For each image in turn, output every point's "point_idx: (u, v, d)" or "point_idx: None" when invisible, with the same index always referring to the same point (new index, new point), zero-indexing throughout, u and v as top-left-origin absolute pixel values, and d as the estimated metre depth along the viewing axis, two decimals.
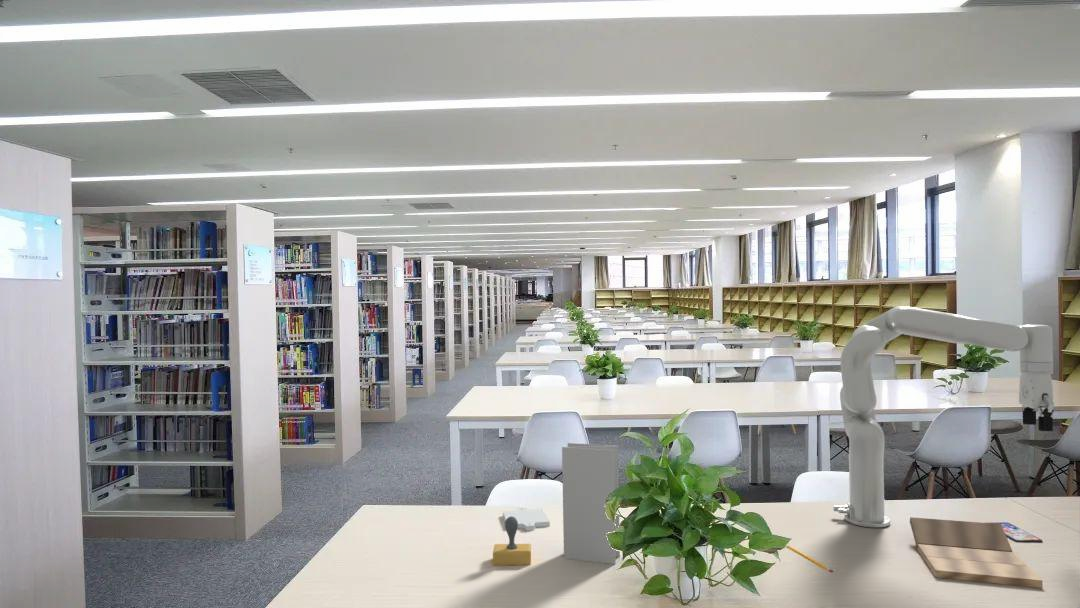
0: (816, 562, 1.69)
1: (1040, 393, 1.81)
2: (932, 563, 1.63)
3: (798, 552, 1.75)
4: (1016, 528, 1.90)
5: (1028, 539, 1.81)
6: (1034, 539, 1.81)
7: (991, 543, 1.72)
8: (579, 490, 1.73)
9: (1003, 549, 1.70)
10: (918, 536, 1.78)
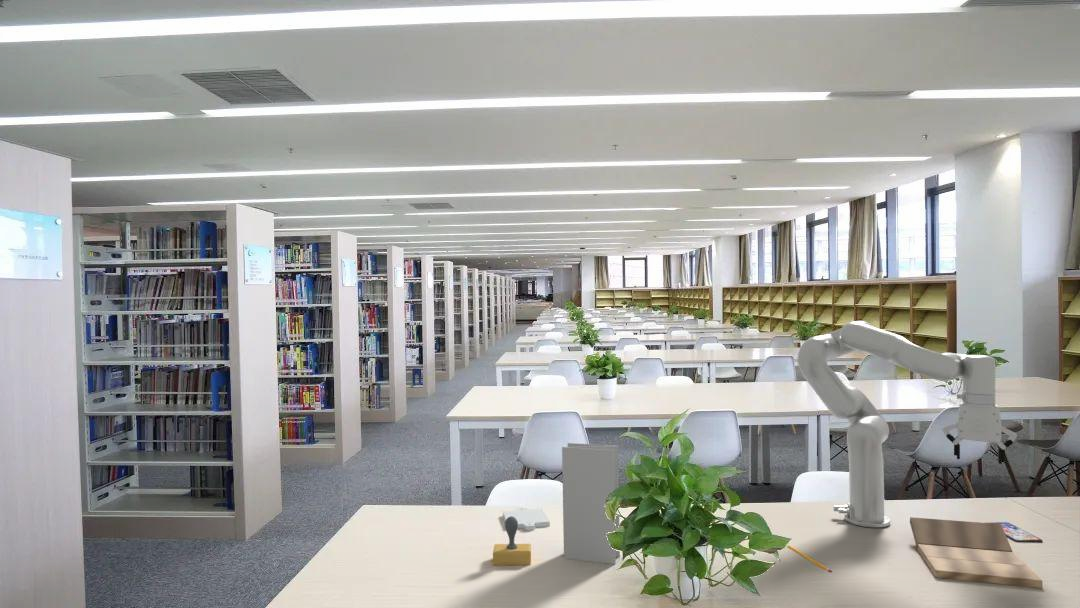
0: (816, 562, 1.68)
1: None
2: (932, 563, 1.63)
3: (798, 552, 1.76)
4: (1016, 528, 1.90)
5: (1028, 539, 1.81)
6: (1034, 539, 1.81)
7: (991, 543, 1.72)
8: (579, 490, 1.73)
9: (1003, 549, 1.70)
10: (918, 536, 1.78)
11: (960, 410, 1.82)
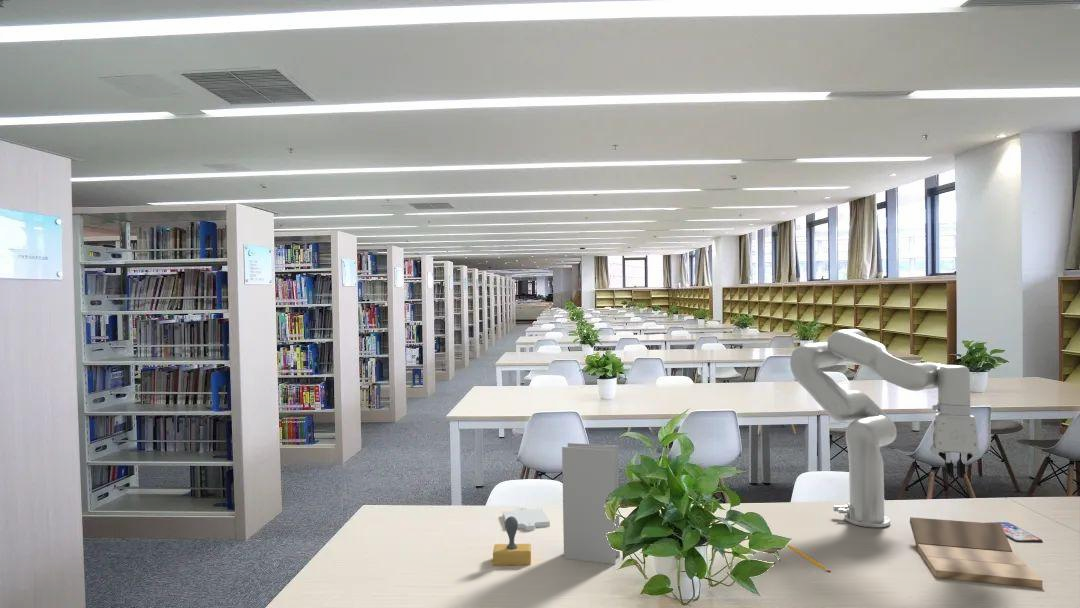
0: (815, 562, 1.68)
1: None
2: (932, 563, 1.63)
3: (799, 552, 1.76)
4: (1016, 528, 1.90)
5: (1028, 539, 1.81)
6: (1034, 539, 1.81)
7: (991, 543, 1.72)
8: (579, 490, 1.73)
9: (1003, 549, 1.70)
10: (918, 536, 1.78)
11: (938, 422, 1.79)
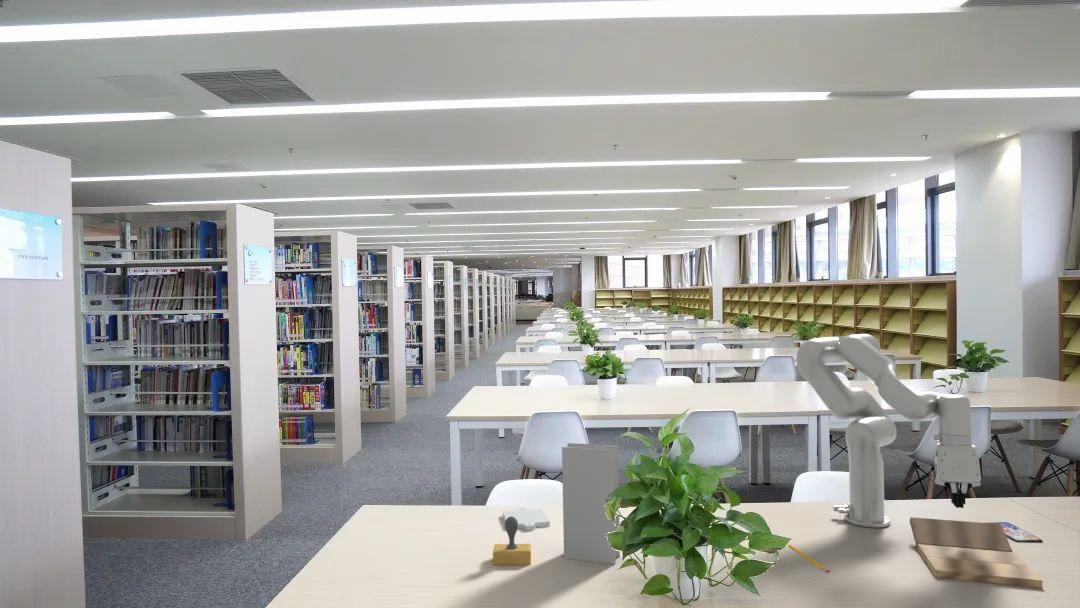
0: (815, 562, 1.68)
1: None
2: (932, 563, 1.63)
3: (799, 552, 1.76)
4: (1016, 528, 1.90)
5: (1028, 539, 1.81)
6: (1034, 539, 1.81)
7: (991, 543, 1.72)
8: (579, 490, 1.73)
9: (1003, 549, 1.70)
10: (918, 536, 1.78)
11: (940, 452, 1.78)
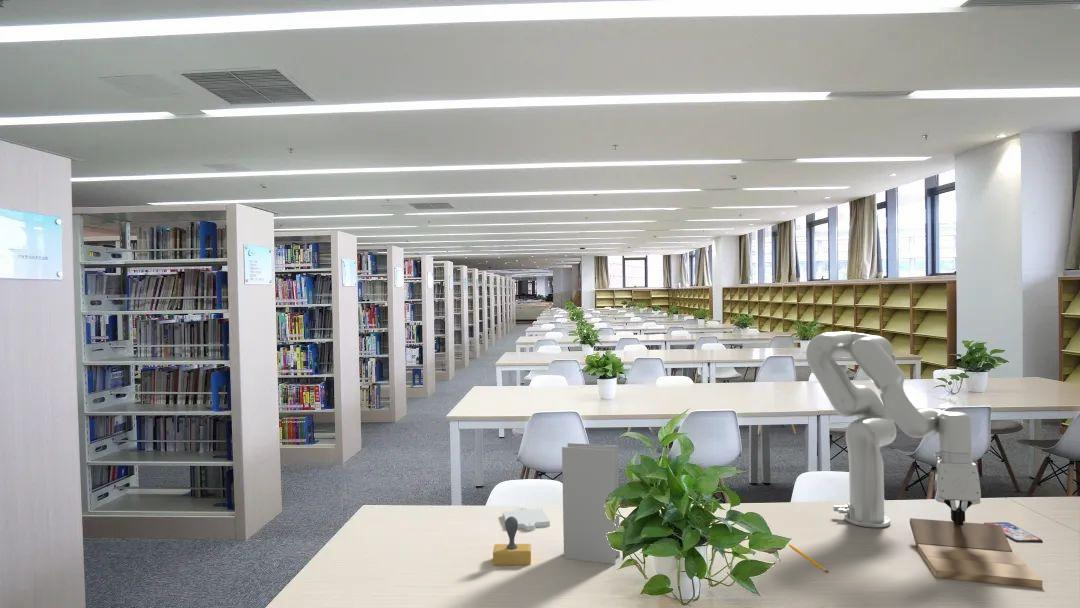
0: (814, 562, 1.68)
1: None
2: (932, 563, 1.63)
3: (799, 552, 1.76)
4: (1016, 528, 1.90)
5: (1028, 539, 1.81)
6: (1034, 539, 1.81)
7: (991, 543, 1.72)
8: (579, 490, 1.73)
9: (1003, 549, 1.70)
10: (918, 536, 1.78)
11: (940, 469, 1.78)
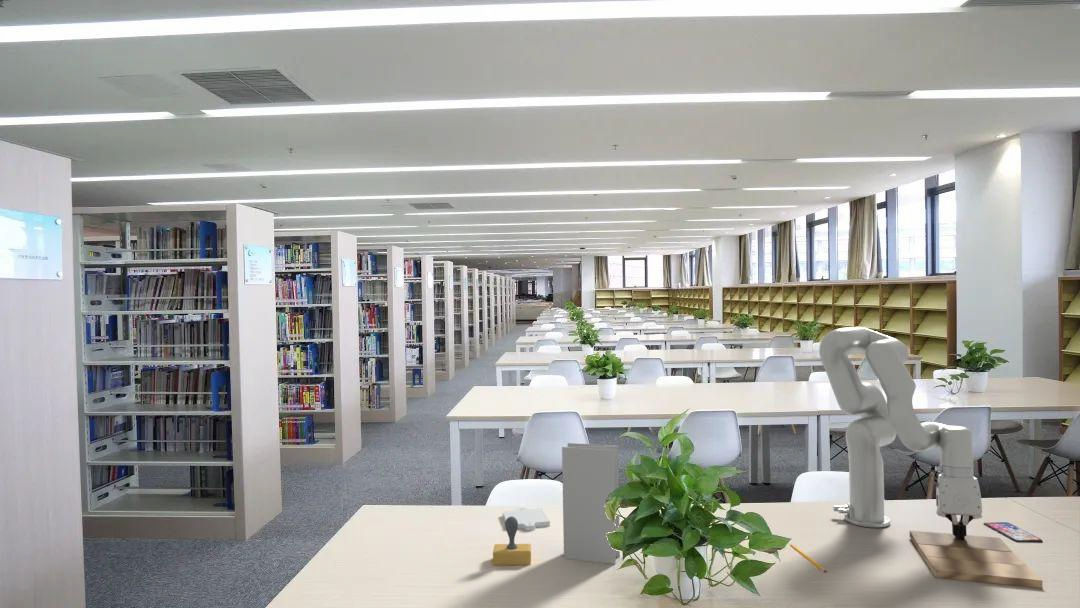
0: (814, 562, 1.68)
1: None
2: (932, 563, 1.63)
3: (800, 552, 1.76)
4: (1016, 528, 1.90)
5: (1028, 539, 1.81)
6: (1034, 539, 1.81)
7: (991, 546, 1.73)
8: (579, 490, 1.73)
9: (1003, 550, 1.70)
10: (918, 540, 1.78)
11: (941, 484, 1.78)
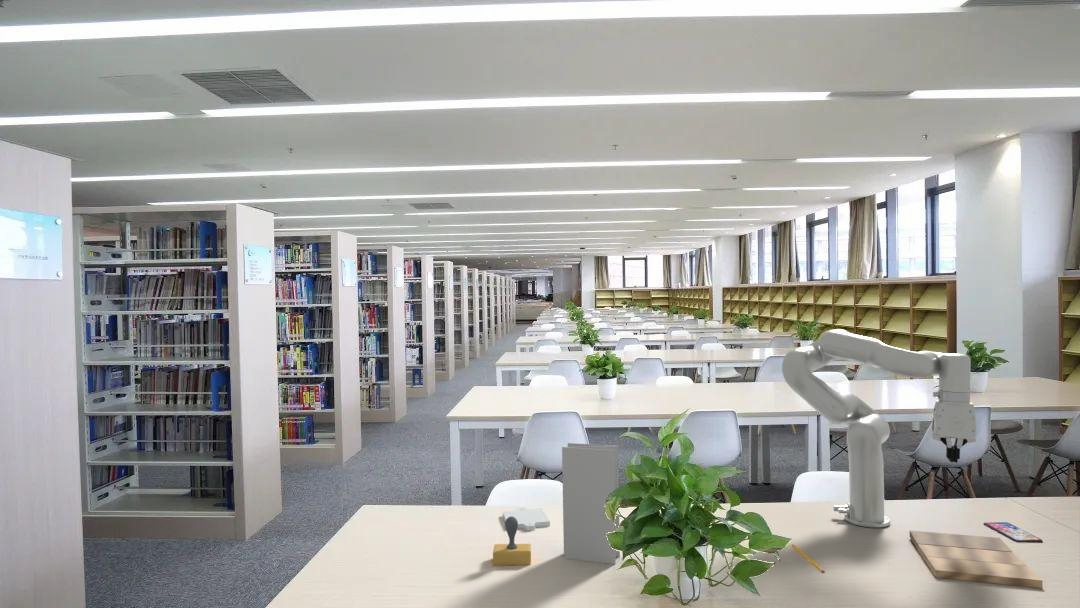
0: (812, 562, 1.68)
1: None
2: (932, 563, 1.63)
3: (800, 552, 1.76)
4: (1016, 528, 1.90)
5: (1028, 539, 1.81)
6: (1034, 539, 1.81)
7: (991, 546, 1.73)
8: (579, 490, 1.73)
9: (1003, 550, 1.70)
10: (918, 540, 1.78)
11: (938, 408, 1.84)
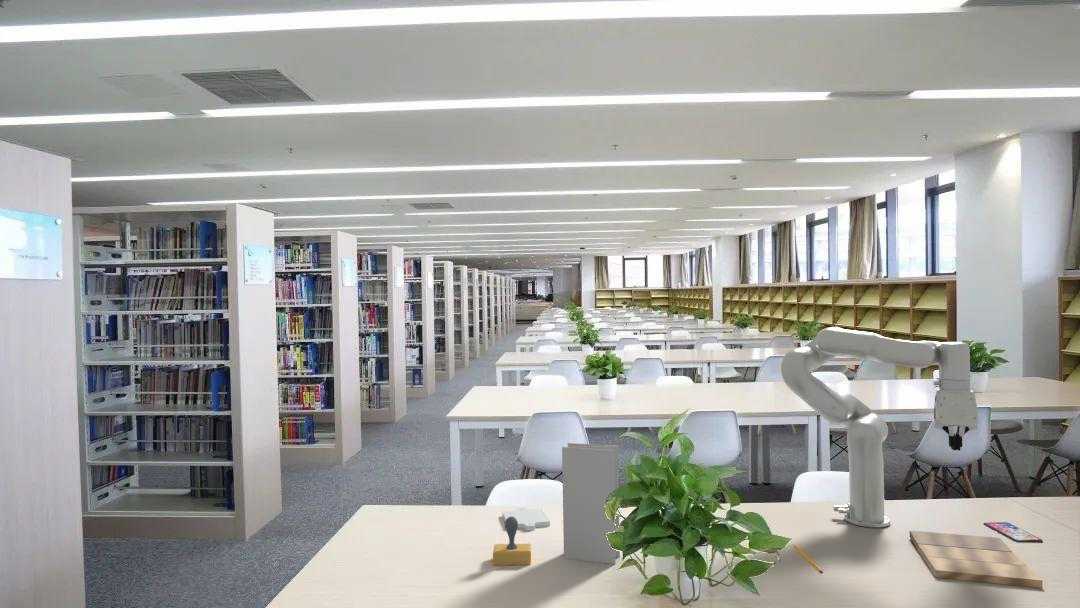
0: (812, 562, 1.68)
1: None
2: (932, 563, 1.63)
3: (801, 552, 1.76)
4: (1016, 528, 1.90)
5: (1028, 539, 1.81)
6: (1034, 539, 1.81)
7: (991, 546, 1.73)
8: (579, 490, 1.73)
9: (1003, 550, 1.70)
10: (918, 540, 1.78)
11: (939, 396, 1.85)
